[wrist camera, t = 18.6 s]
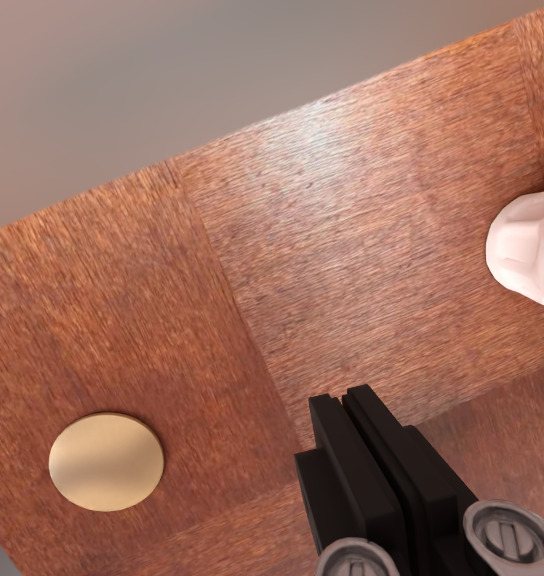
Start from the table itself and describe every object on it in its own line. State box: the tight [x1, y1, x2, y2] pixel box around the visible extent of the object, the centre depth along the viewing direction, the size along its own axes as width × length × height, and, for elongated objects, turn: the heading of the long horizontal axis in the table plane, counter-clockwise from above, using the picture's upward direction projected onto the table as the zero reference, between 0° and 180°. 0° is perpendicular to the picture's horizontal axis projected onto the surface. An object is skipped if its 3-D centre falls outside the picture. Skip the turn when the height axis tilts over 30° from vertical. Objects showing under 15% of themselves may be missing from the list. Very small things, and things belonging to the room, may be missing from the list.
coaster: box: [49, 412, 164, 511], centre depth 30 cm, size 9×9×1 cm
